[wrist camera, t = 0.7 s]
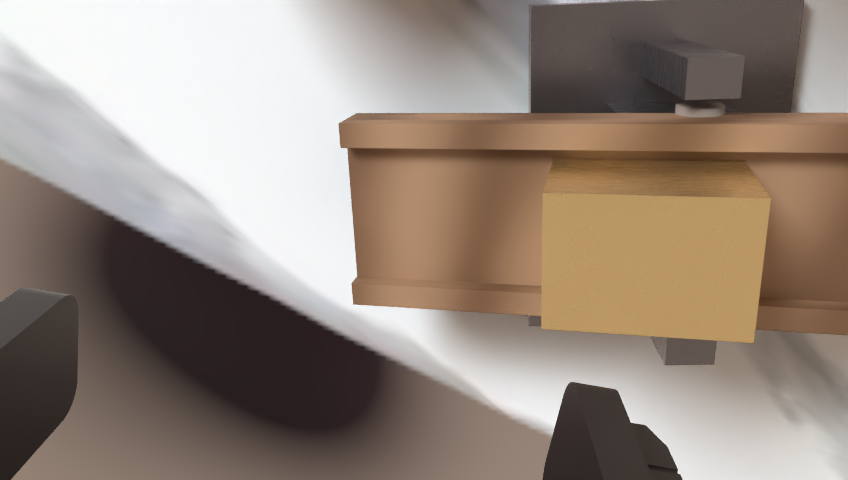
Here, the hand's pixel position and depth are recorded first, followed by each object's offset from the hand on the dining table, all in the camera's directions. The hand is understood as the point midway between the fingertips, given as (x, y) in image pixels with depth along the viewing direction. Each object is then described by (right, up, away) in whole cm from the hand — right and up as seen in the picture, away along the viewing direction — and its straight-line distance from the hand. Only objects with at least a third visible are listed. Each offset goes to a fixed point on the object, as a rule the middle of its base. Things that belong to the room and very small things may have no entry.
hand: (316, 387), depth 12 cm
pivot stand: (+13, +6, +25) cm, 28 cm away
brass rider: (+10, +3, +17) cm, 20 cm away
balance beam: (+13, +5, +21) cm, 25 cm away
